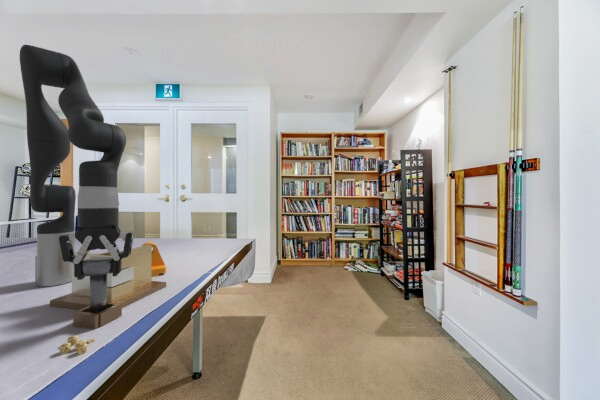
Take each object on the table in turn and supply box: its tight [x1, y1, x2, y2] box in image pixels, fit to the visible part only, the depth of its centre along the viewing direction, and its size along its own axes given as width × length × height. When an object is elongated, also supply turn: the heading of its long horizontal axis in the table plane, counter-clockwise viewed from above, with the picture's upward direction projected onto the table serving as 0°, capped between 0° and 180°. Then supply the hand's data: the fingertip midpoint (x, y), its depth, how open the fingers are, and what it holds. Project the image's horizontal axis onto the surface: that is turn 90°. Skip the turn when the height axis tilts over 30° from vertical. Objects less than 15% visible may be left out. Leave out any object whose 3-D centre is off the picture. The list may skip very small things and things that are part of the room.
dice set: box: [59, 335, 96, 356], centre depth 48 cm, size 5×5×2 cm
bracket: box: [141, 241, 167, 278], centre depth 94 cm, size 11×7×12 cm, turn 125°
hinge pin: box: [82, 257, 114, 313], centre depth 59 cm, size 6×6×14 cm
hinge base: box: [49, 245, 167, 330], centre depth 70 cm, size 24×26×14 cm
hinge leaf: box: [71, 251, 134, 294], centre depth 69 cm, size 17×7×11 cm, turn 79°
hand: (98, 276), depth 59 cm, fingers closed on hinge pin, 6 cm apart
